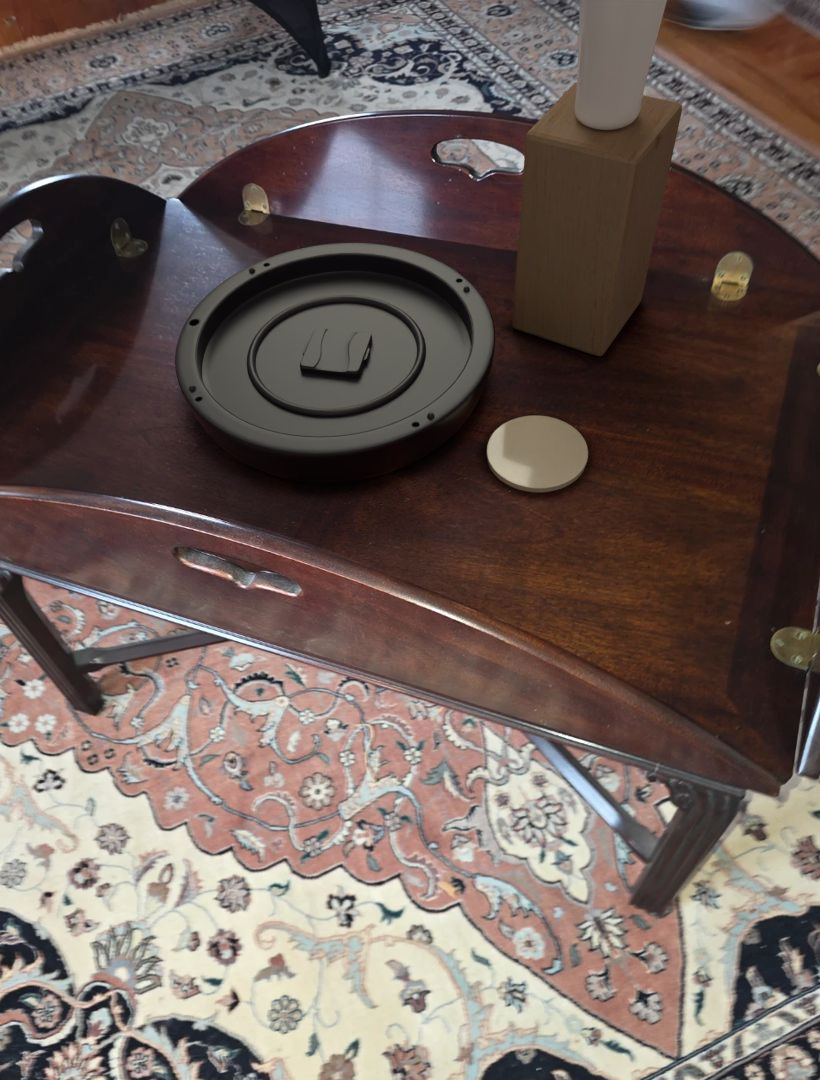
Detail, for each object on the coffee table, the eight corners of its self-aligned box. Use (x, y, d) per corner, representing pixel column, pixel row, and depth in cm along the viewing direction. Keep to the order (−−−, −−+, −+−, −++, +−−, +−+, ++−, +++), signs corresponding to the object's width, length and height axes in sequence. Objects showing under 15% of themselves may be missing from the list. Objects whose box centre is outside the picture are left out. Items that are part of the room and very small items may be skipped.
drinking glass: (596, 147, 71) (627, -77, 58) (548, 112, 74) (568, -105, 62) (664, 121, 72) (709, -102, 60) (614, 88, 76) (647, -128, 63)
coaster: (590, 424, 81) (591, 420, 80) (583, 497, 76) (584, 493, 75) (493, 415, 82) (493, 411, 82) (479, 486, 77) (480, 482, 77)
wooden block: (642, 302, 90) (685, 101, 74) (601, 359, 86) (638, 159, 69) (553, 275, 94) (575, 78, 77) (509, 329, 89) (523, 132, 73)
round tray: (509, 298, 92) (238, 280, 97) (513, 247, 87) (227, 230, 92) (469, 515, 76) (146, 479, 81) (470, 467, 71) (126, 432, 76)
